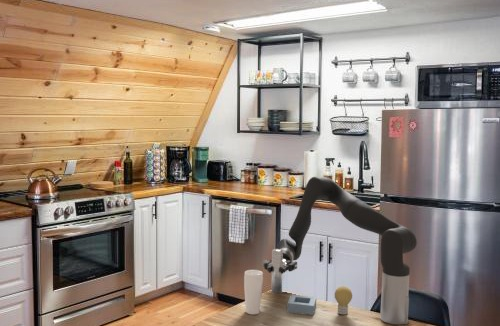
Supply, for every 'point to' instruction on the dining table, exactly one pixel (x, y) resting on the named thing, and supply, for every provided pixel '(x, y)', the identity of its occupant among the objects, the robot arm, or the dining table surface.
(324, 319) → the dining table surface
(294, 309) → the blue square frame
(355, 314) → the dining table surface
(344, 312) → the light bulb
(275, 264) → the steel pin
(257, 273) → the drinking glass
